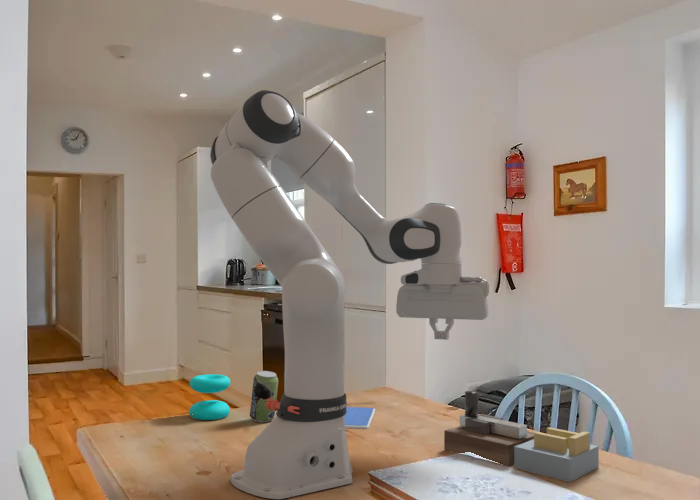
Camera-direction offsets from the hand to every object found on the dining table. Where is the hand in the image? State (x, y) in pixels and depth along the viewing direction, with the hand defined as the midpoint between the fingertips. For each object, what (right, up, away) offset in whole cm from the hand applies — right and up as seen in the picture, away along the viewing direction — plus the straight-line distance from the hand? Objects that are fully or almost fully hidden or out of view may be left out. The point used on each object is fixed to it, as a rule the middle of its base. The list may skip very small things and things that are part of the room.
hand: (441, 339), depth 138 cm
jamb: (+9, -22, -10) cm, 25 cm away
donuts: (-56, -22, +19) cm, 63 cm away
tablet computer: (-21, -23, +18) cm, 36 cm away
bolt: (+9, -17, -10) cm, 22 cm away
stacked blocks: (+19, -22, -20) cm, 35 cm away
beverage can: (-41, -22, +15) cm, 49 cm away
